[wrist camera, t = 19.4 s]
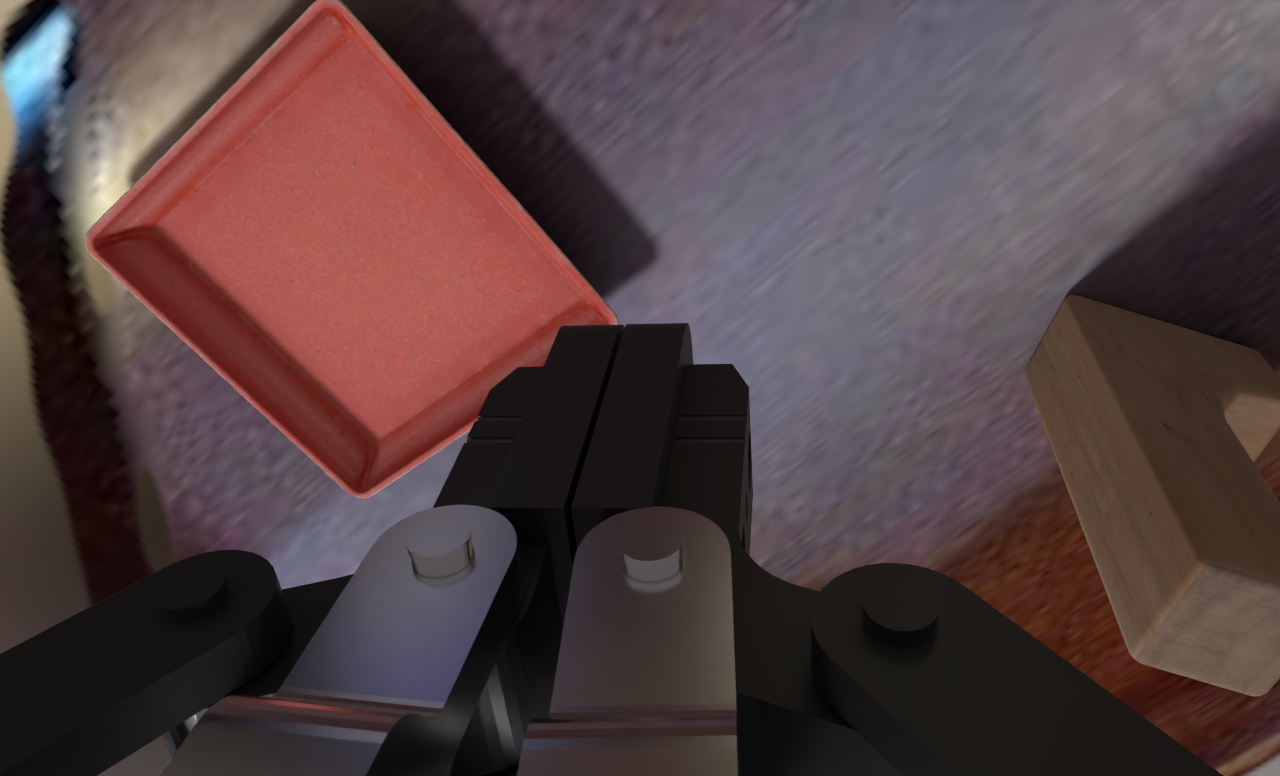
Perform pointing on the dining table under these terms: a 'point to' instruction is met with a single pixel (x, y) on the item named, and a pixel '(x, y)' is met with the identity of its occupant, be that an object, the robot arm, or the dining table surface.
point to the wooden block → (1170, 485)
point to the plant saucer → (343, 255)
